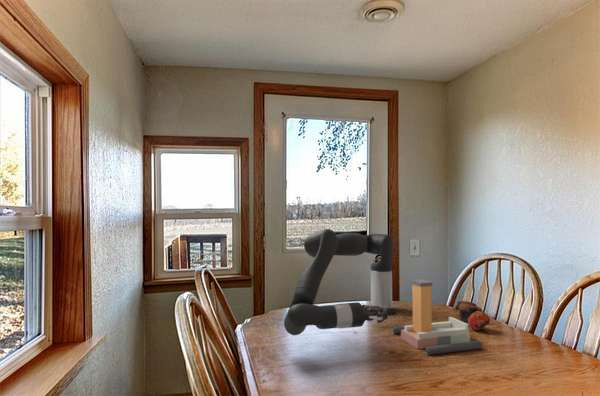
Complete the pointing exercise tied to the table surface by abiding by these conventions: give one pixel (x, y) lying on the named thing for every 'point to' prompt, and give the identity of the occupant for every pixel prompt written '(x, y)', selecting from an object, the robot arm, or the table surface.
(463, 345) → the dark grey bar
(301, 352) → the table surface
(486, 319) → the pomegranate
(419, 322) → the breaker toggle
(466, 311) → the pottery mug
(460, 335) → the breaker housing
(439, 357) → the table surface
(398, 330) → the cord bundle
